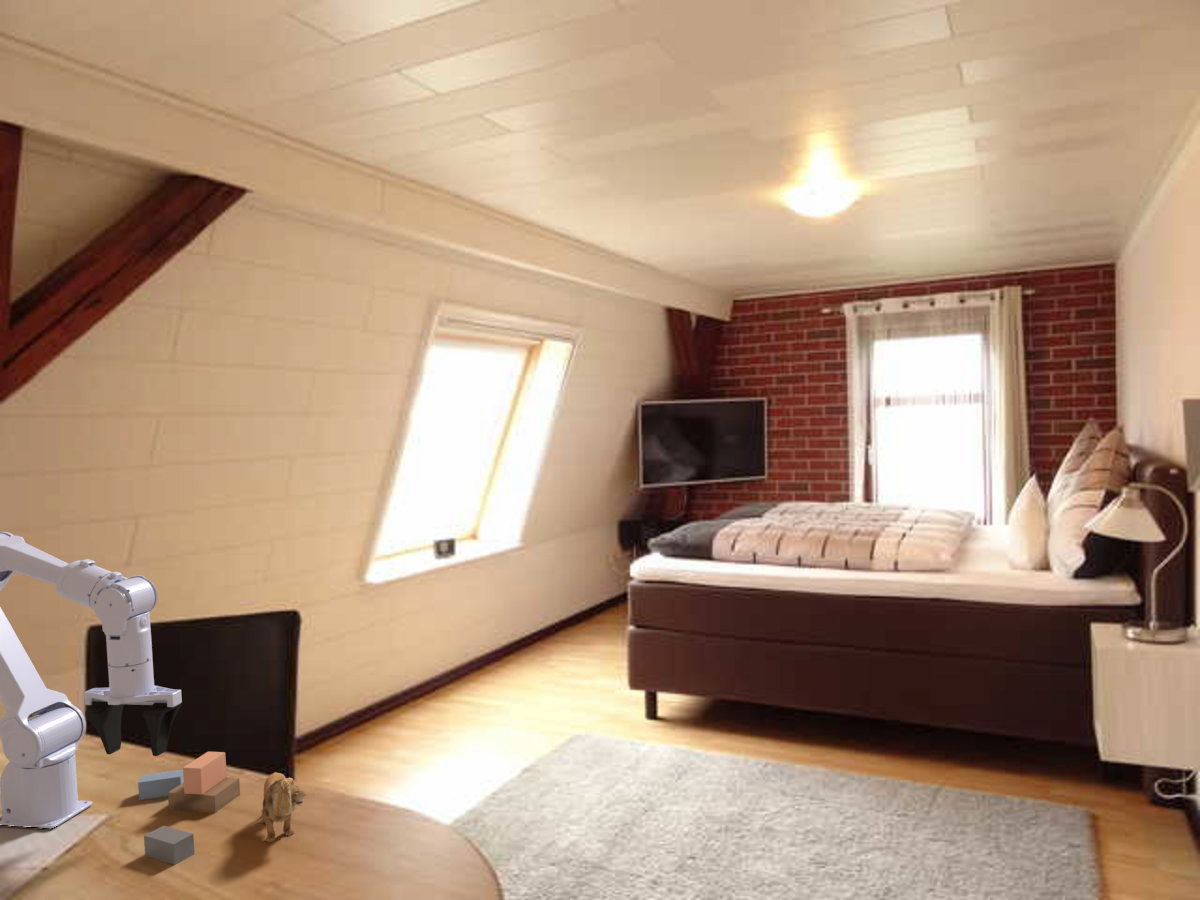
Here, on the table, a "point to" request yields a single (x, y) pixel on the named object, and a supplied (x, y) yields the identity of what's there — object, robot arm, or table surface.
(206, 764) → the terracotta brick
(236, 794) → the walnut block
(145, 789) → the slate-blue brick
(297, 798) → the lion figurine
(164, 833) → the gray brick
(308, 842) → the table surface
